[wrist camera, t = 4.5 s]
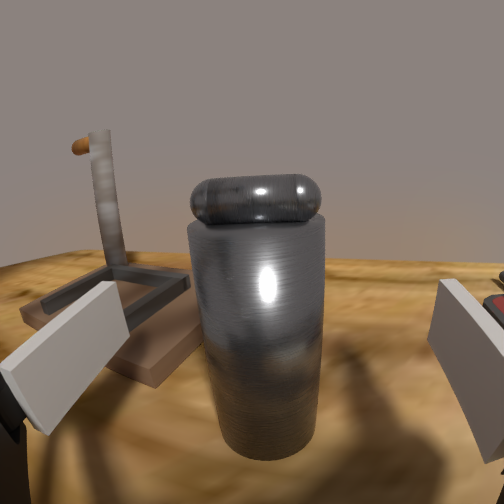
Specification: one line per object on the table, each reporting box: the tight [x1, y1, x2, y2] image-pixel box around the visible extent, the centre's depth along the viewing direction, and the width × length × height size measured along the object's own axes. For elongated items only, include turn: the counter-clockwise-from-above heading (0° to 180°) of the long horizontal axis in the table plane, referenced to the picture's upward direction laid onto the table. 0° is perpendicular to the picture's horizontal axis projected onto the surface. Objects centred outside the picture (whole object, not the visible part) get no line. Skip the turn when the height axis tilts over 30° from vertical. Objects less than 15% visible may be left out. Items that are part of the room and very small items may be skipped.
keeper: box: [19, 130, 204, 389], centre depth 24 cm, size 20×14×16 cm
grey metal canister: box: [187, 174, 325, 461], centre depth 12 cm, size 5×5×12 cm
